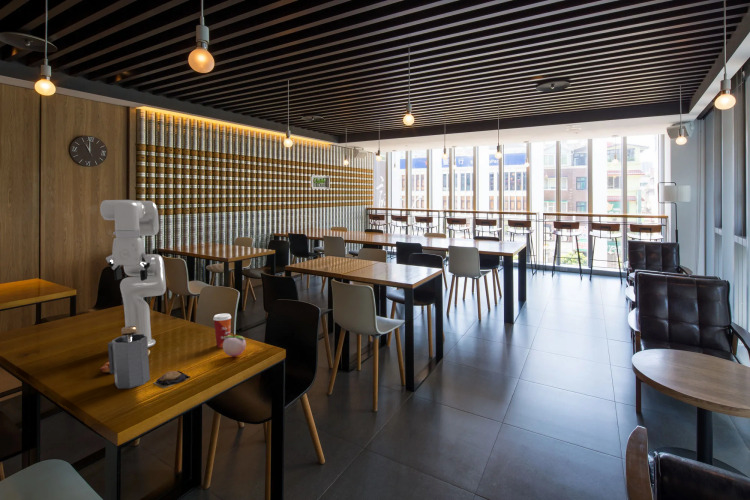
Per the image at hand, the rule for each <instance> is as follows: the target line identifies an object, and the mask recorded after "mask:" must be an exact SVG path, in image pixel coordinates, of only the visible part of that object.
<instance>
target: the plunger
mask: <svg viewBox="0 0 750 500" xmlns="http://www.w3.org/2000/svg"><path fill="white" fill-rule="evenodd" d="M135 333H137V330H136V326H127V327H126V326H124V327H122V328H121V336H125V335H127V336H128V342H132V334H135Z"/></svg>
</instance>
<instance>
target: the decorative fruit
mask: <svg viewBox="0 0 750 500" xmlns="http://www.w3.org/2000/svg"><path fill="white" fill-rule="evenodd" d="M226 337H227V338H226ZM224 338H226V339H225V340H224V342H223V348H222V350H223V352H224V353H225V354H226V355H227V356H229V357H234V358H235V357H238V356H239V355H241V354H242V353H243V352H244V351H245V350H246V348H247V341H246V338H245V337H243V336H242V335H235V333H233V334H232V335H231V334H230V335H229V336H225V337H224ZM224 338H223V339H224Z"/></svg>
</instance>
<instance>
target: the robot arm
mask: <svg viewBox="0 0 750 500" xmlns="http://www.w3.org/2000/svg"><path fill="white" fill-rule="evenodd" d="M99 211H100V215H101V217H102V218H103V220H105V221H114V230H115V231H113V232H112V234H113V236H115V237H116V238H113V242H112V248H111V249H112V254H110V255H109V256H106V257H105V260H106V262H107V264H108V266H109V267H110V268H111V269H112V270H113V277H114V280H115V281H118V280H121V279H122V280H121V281H120V283H119V288H120V293H121V297H122V303H123V309H124V310H123V311H124V325H125V326H124V327H127V326H136V330H137V333H135V334H144V335H146V336H147V345H148V348H150V347H152V346H154V345H155V344H156V339H154V338H152V330H151V313H150V312H151V311H150V306H149V304H148V303H147V302H146V300H144V299H143V298H147V297H156V296H162V295H164V294H165V293H166V290H167V284H166V283H167V282H166V271H165V270H166V269H165V263H164V259H163V257H162V256H161V255H160V254H157V253H156V254H155V253H153V254H151V253H150V254H149V253H147V254H146V249H145V244H144V241H143V238H142V237H143V236H144V237H145V236H149V237H150V236H155V235H157V234H158V233H159V229H160V224H159V223H160V221H159V211H158V207H157V204H156V203H155V202H154V201H152V200H136V199H135V200H132V199H111V200H110V199H105V200H102V202H101V203H100V208H99ZM121 266H123V269H122V268H121ZM122 270H124V273H125V275H127V276H128V277H125V278H123V273H122V272H123V271H122Z"/></svg>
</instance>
